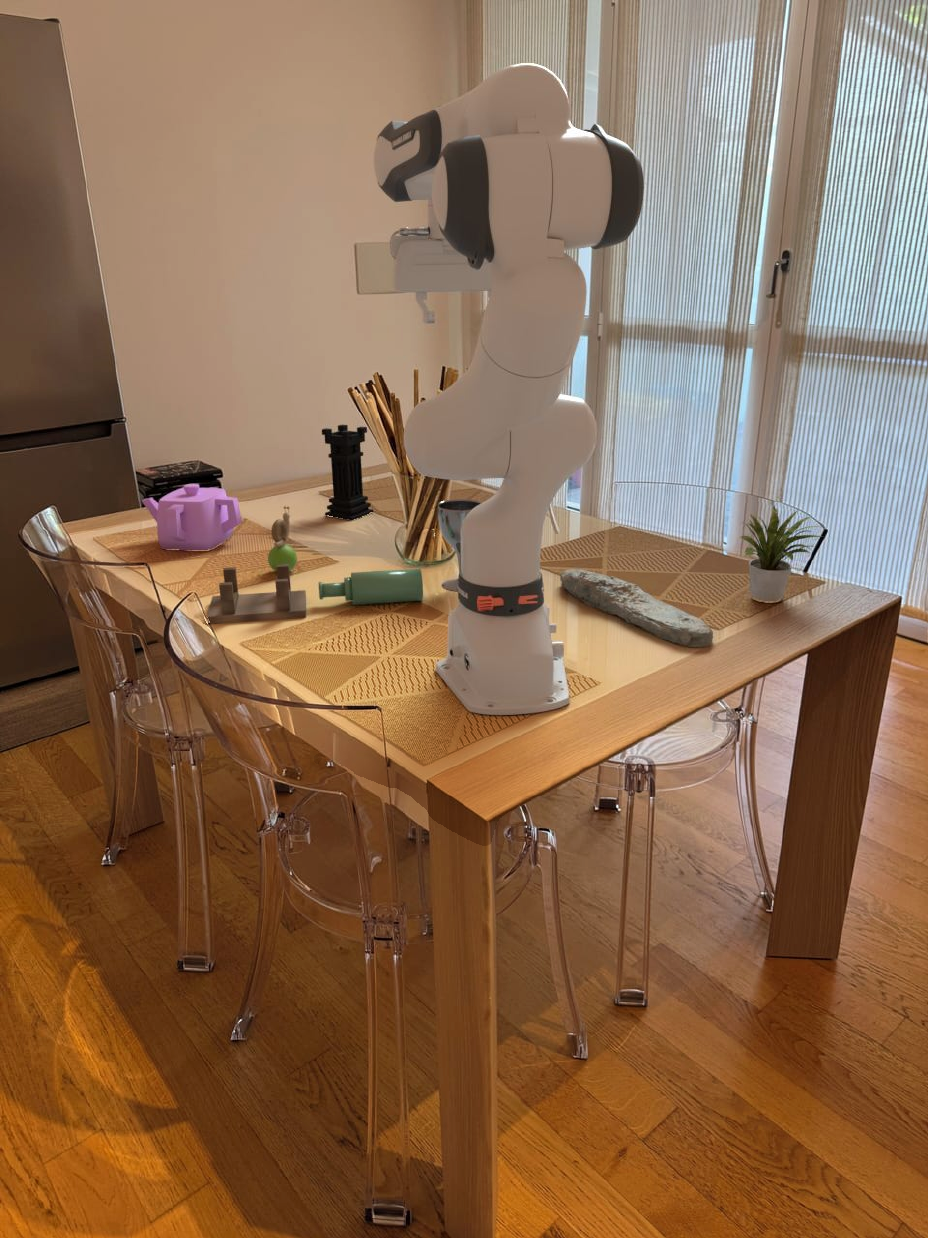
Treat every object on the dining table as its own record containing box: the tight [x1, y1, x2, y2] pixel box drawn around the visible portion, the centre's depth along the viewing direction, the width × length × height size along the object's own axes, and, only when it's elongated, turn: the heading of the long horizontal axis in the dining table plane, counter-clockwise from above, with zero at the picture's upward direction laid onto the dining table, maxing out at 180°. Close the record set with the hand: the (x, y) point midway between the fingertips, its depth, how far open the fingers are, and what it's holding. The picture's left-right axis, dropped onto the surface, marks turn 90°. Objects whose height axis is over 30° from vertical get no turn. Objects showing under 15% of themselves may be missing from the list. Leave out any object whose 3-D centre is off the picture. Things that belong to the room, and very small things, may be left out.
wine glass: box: [437, 498, 482, 592], centre depth 162 cm, size 8×8×15 cm
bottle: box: [318, 568, 424, 606], centre depth 156 cm, size 18×6×6 cm, turn 99°
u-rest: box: [206, 564, 307, 625], centre depth 153 cm, size 16×10×6 cm, turn 99°
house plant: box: [739, 505, 825, 601], centre depth 153 cm, size 14×14×16 cm
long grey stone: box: [559, 568, 714, 648], centre depth 151 cm, size 35×5×10 cm
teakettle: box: [141, 483, 243, 550], centre depth 190 cm, size 17×17×12 cm
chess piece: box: [321, 424, 374, 521], centre depth 207 cm, size 8×8×20 cm
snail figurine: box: [267, 505, 298, 572], centre depth 171 cm, size 5×6×12 cm
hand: (458, 322), depth 143 cm, fingers open, 8 cm apart
